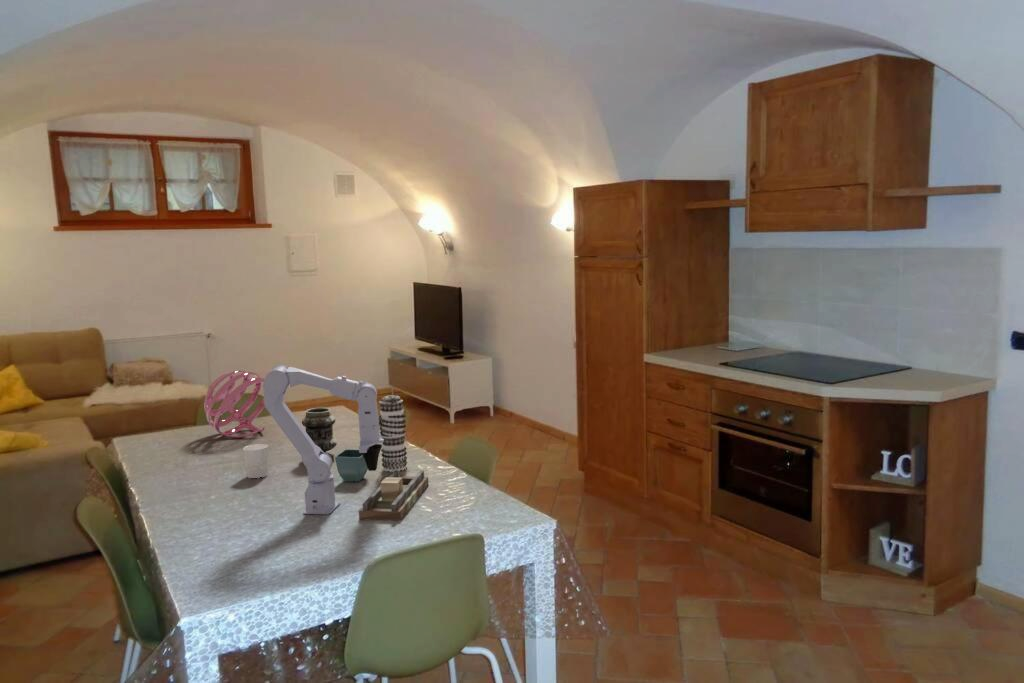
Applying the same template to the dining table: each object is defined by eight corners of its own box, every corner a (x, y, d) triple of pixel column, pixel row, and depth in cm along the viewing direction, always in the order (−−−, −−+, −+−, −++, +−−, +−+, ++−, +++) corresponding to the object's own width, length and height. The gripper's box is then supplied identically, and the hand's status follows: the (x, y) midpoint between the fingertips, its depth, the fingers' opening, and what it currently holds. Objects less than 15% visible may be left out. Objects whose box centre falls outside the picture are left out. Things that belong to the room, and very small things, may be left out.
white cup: (240, 477, 260) (237, 448, 259) (258, 471, 267) (255, 443, 265) (257, 480, 256) (255, 451, 255) (274, 473, 263) (272, 445, 262)
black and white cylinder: (412, 464, 268) (409, 394, 265) (401, 472, 259) (397, 399, 256) (388, 463, 271) (384, 393, 267) (376, 471, 262) (372, 399, 258)
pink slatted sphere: (296, 386, 318) (249, 348, 324) (242, 416, 296) (194, 374, 302) (283, 431, 334) (239, 394, 340) (232, 463, 312) (186, 423, 318)
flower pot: (361, 484, 248) (359, 457, 247) (335, 483, 250) (334, 456, 249) (371, 476, 257) (370, 449, 256) (347, 475, 259) (345, 449, 258)
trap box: (400, 520, 215) (399, 504, 214) (359, 519, 217) (358, 503, 216) (428, 484, 246) (427, 470, 245) (391, 483, 248) (391, 470, 247)
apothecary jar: (340, 460, 277) (337, 411, 274) (305, 465, 272) (302, 415, 270) (335, 452, 288) (332, 404, 286) (301, 456, 284) (298, 408, 281)
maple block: (398, 499, 225) (397, 482, 224) (381, 499, 226) (380, 482, 225) (403, 493, 230) (402, 477, 229) (386, 493, 230) (385, 477, 230)
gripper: (374, 431, 218) (378, 477, 220) (389, 418, 232) (392, 462, 234) (350, 431, 219) (354, 477, 221) (367, 419, 233) (370, 462, 235)
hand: (372, 470), depth 228 cm, fingers closed
